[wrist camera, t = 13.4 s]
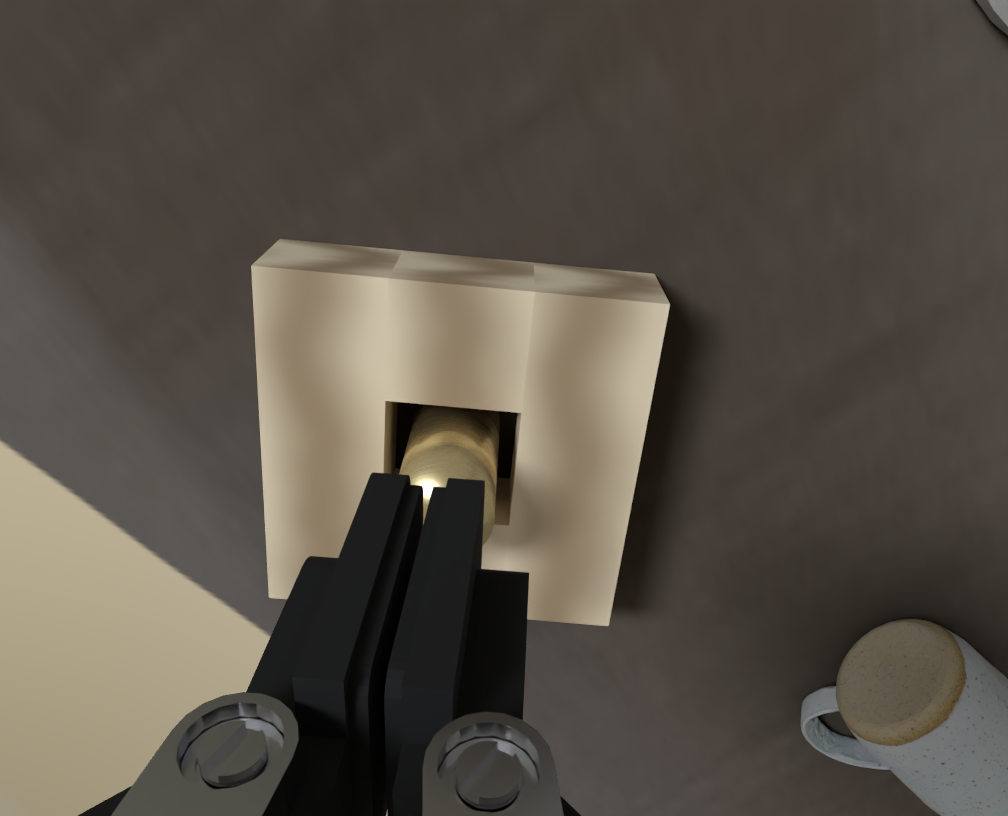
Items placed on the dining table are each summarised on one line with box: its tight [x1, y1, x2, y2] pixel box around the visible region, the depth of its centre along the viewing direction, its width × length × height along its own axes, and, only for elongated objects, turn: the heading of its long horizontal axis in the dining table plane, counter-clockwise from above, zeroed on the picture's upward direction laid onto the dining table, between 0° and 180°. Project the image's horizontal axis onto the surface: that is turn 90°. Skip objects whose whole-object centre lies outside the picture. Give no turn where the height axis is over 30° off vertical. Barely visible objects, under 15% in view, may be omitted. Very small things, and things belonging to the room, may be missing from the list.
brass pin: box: [399, 404, 500, 546], centre depth 34 cm, size 4×4×8 cm
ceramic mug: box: [801, 619, 1008, 816], centre depth 41 cm, size 11×8×8 cm
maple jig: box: [251, 239, 670, 626], centre depth 36 cm, size 16×16×4 cm
